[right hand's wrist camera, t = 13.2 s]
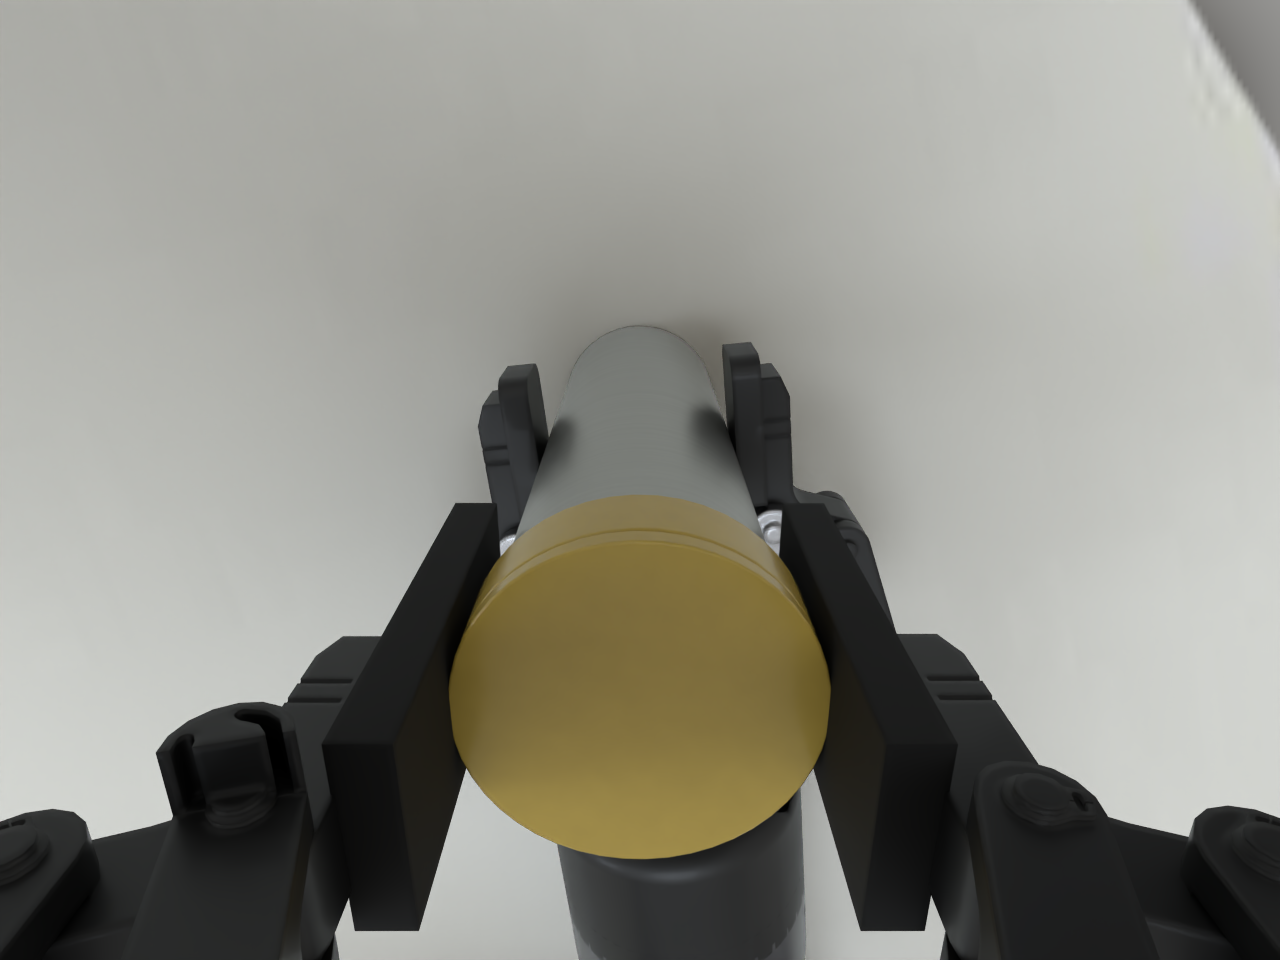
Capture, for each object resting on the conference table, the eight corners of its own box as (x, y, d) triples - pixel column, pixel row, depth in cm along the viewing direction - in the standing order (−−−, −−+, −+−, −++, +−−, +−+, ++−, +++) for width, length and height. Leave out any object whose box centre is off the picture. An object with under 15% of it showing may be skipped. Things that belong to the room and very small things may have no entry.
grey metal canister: (712, 463, 27) (800, 820, 12) (572, 468, 27) (489, 829, 12) (711, 323, 25) (815, 537, 10) (562, 328, 25) (452, 548, 10)
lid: (801, 778, 13) (822, 855, 12) (488, 786, 13) (469, 865, 12) (817, 486, 11) (844, 535, 10) (451, 497, 11) (422, 547, 10)
